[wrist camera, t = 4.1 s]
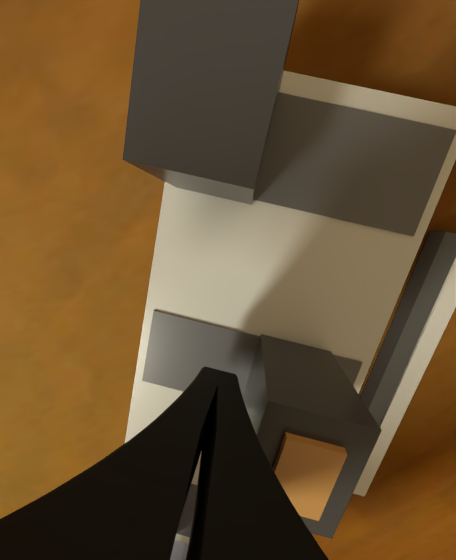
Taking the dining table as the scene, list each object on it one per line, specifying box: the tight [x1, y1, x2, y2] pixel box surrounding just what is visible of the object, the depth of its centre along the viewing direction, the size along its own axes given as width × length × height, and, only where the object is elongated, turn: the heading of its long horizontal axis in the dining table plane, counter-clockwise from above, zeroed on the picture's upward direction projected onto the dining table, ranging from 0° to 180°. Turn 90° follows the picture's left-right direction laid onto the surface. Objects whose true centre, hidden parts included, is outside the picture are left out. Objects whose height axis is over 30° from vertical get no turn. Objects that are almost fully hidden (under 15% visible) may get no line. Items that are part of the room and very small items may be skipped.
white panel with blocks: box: [123, 0, 456, 544], centre depth 11 cm, size 23×10×8 cm, turn 167°
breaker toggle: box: [243, 334, 382, 539], centre depth 9 cm, size 4×3×4 cm
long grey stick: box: [353, 231, 456, 497], centre depth 13 cm, size 16×2×1 cm, turn 167°
